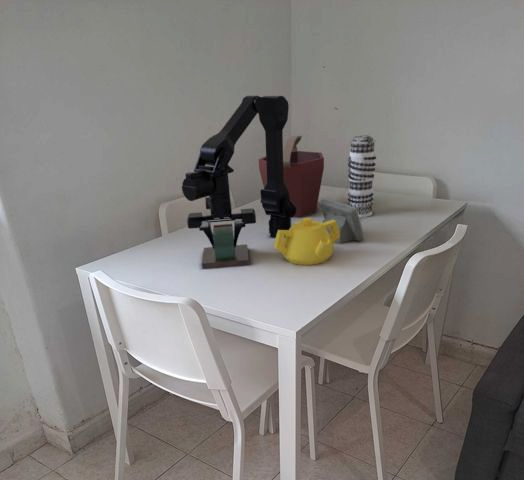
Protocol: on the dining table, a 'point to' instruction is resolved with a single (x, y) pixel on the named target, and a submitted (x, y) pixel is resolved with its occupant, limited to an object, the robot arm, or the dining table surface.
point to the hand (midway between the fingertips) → (224, 248)
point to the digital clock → (343, 220)
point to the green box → (223, 241)
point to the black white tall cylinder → (361, 174)
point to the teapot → (307, 241)
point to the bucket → (299, 176)
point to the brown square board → (239, 259)
